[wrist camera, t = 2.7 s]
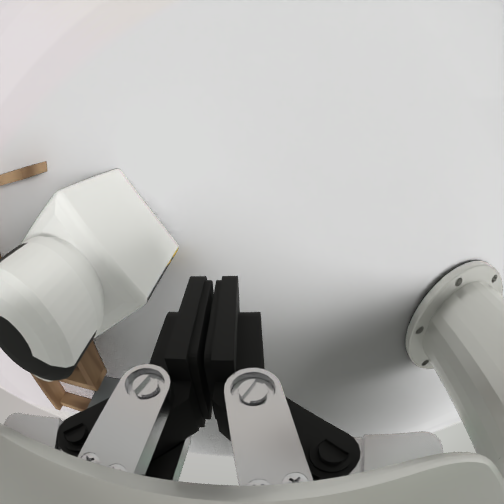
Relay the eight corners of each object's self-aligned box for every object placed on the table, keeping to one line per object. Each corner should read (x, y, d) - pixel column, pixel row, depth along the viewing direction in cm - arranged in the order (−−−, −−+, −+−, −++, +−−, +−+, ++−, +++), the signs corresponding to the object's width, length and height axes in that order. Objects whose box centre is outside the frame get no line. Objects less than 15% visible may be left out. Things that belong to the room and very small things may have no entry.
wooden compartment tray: (46, 161, 16) (21, 168, 13) (128, 410, 28) (122, 429, 25) (-19, 181, 16) (-39, 190, 14) (63, 393, 28) (56, 408, 26)
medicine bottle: (119, 292, 21) (46, 406, 10) (65, 224, 18) (-42, 306, 7) (182, 246, 19) (109, 381, 8) (120, 165, 17) (-21, 225, 6)
